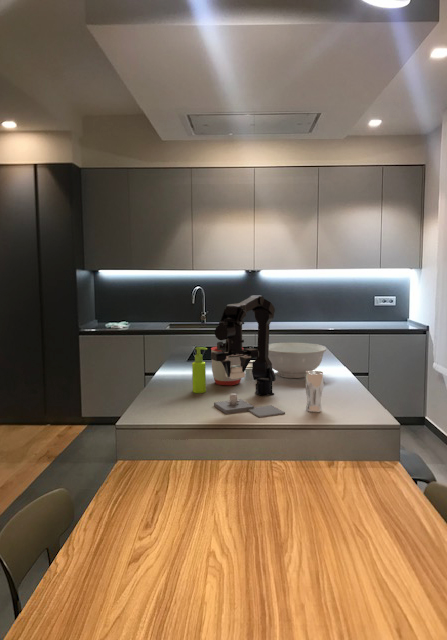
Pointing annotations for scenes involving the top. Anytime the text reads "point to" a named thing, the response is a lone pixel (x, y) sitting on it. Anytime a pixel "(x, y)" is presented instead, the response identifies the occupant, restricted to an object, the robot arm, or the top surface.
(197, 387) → the soap dispenser
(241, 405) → the plinth
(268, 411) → the mat
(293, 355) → the bowl
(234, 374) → the cream domed square block
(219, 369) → the citrus juicer
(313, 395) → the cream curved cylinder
